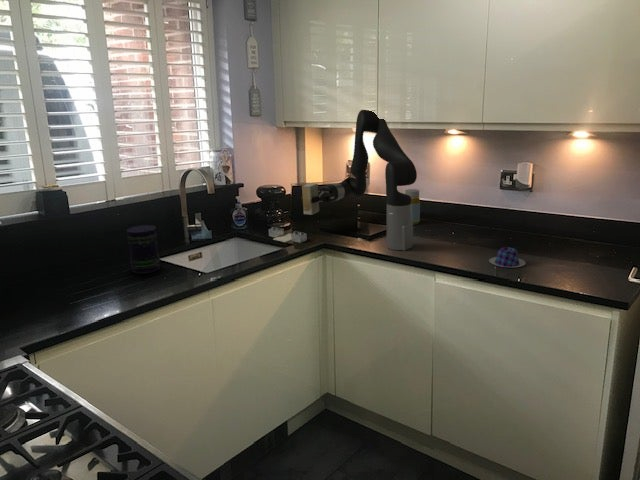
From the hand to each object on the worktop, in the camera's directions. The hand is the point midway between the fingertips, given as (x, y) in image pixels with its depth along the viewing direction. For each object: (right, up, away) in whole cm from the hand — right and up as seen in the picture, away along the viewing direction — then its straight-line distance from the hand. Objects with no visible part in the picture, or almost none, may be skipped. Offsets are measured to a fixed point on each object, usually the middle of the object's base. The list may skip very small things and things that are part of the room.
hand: (306, 200), depth 227 cm
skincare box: (+2, -5, +4) cm, 7 cm away
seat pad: (-8, -16, +2) cm, 18 cm away
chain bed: (-8, -16, +2) cm, 18 cm away
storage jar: (-57, -27, -31) cm, 70 cm away
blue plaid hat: (+71, -25, -37) cm, 84 cm away
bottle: (+47, -9, +20) cm, 52 cm away
